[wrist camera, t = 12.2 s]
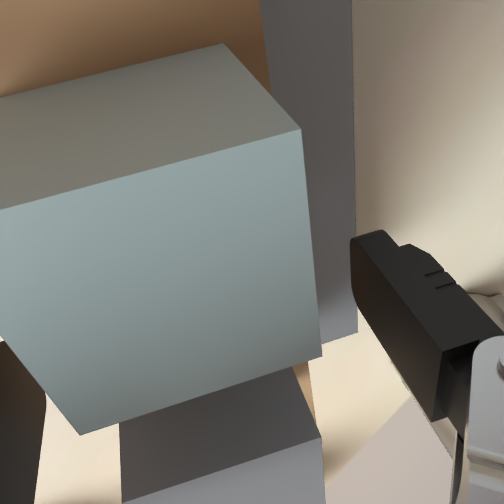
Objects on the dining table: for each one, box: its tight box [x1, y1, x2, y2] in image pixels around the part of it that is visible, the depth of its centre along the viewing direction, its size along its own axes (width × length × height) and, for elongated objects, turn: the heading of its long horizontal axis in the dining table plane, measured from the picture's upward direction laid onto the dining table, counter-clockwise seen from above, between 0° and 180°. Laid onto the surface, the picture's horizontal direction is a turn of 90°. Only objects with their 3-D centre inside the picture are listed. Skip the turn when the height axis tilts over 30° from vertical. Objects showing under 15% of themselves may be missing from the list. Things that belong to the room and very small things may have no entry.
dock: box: [259, 0, 358, 344], centre depth 18 cm, size 16×25×5 cm, turn 10°
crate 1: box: [0, 43, 322, 435], centre depth 7 cm, size 4×4×4 cm
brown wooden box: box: [0, 0, 316, 423], centre depth 14 cm, size 21×6×6 cm, turn 10°
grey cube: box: [119, 366, 326, 504], centre depth 12 cm, size 4×4×4 cm
